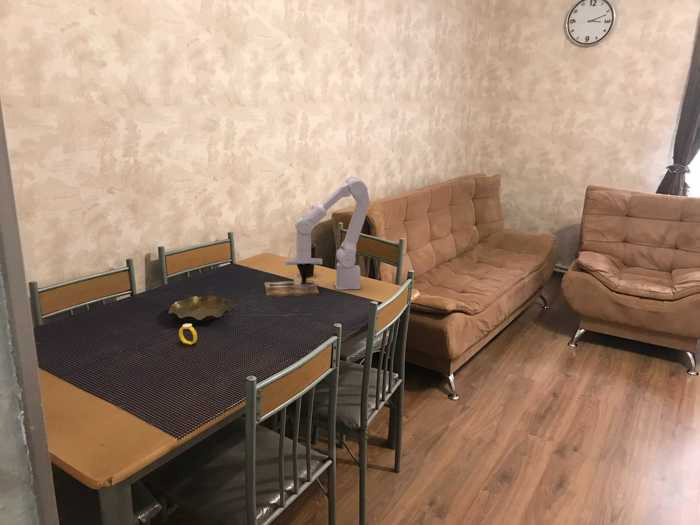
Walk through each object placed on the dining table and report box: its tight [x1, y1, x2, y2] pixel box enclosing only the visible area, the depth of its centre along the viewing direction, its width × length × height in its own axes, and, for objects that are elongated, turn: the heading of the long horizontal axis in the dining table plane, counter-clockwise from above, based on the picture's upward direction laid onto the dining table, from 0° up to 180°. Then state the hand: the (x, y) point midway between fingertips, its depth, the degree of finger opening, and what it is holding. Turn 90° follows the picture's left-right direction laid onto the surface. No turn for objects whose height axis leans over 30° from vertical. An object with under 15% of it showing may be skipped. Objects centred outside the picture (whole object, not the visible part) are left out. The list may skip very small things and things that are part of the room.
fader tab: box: [293, 273, 302, 285], centre depth 218 cm, size 3×4×4 cm
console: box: [264, 279, 320, 298], centre depth 218 cm, size 20×16×2 cm
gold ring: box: [178, 323, 198, 345], centre depth 166 cm, size 6×3×6 cm, turn 64°
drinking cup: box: [307, 241, 317, 278], centre depth 235 cm, size 8×8×20 cm
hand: (303, 281), depth 219 cm, fingers closed
